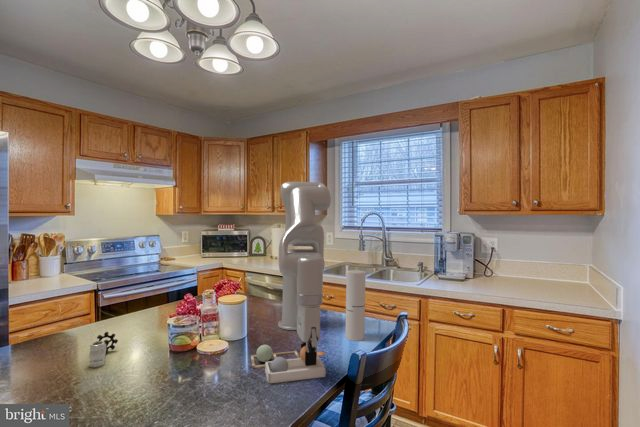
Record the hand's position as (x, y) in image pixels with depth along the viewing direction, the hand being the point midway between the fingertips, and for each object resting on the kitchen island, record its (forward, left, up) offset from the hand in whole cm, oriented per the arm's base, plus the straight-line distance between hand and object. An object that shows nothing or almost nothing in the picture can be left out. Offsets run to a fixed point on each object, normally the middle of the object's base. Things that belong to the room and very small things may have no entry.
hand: (308, 360), depth 97 cm
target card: (-11, +5, -4) cm, 13 cm away
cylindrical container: (-23, +24, -4) cm, 33 cm away
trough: (0, -4, -4) cm, 6 cm away
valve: (-24, -61, -4) cm, 65 cm away
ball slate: (0, -9, -3) cm, 9 cm away
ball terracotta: (0, 0, -1) cm, 1 cm away
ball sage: (-10, -12, -3) cm, 16 cm away
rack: (-10, -8, -4) cm, 13 cm away
